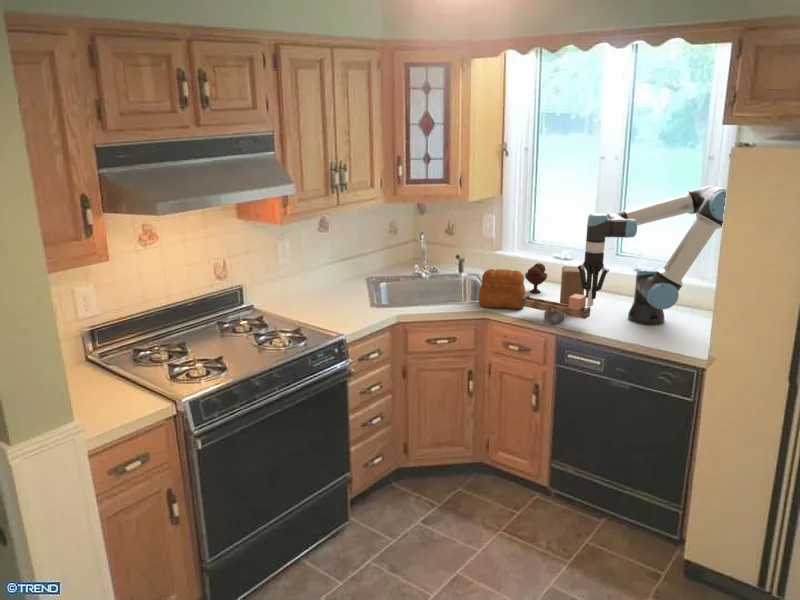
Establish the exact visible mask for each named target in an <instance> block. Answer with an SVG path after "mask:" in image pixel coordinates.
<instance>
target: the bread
mask: <svg viewBox="0 0 800 600" xmlns="http://www.w3.org/2000/svg"><path fill="white" fill-rule="evenodd" d="M524 277H525V275H524V274H523V273H522V272H521V271H520V270H516V269H515V270H511V269H502V268H501V269H500V268H499V269H492V268H490V269H487V270H486V271H484V272H483V274H482V277H481V285H480V289H479V293H478V305H479V306H481V307H484V308H495V309H503V308H504V309H510V310H512V309H513V310H520V309H523V308H524V306H522V297H524V296H526V287H525V284H524V281H525V278H524Z"/></svg>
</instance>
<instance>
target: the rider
mask: <svg viewBox="0 0 800 600" xmlns="http://www.w3.org/2000/svg"><path fill="white" fill-rule="evenodd" d="M586 301H587V298H586V294H585V295H579V294H574V295H572V296H570V297H569V308H570V309H575V310H582V309H583V308H586V306H587V302H586Z"/></svg>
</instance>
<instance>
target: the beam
mask: <svg viewBox="0 0 800 600" xmlns="http://www.w3.org/2000/svg"><path fill="white" fill-rule="evenodd" d="M522 306H524V307H525V308H528V309H529V308H530V309H535V310H540V311H544V313H543V314H544V316H543V323H544V324H549V325H553V326H558V325H560V324H562V323H563V322H565V317H566V316H568V317H573V318H579V319H583V320H586V319H587V318H590V316H591V307H592V306H591V307H589V306H587V307H584V308H583V309H582V310H575V309H570V308H569V305H568V304H562V303H560V302H556V301H551V300H547V299H541V298H535V297H531V296H530V295H529V294H525V296H524V297H522ZM524 307H523V308H524Z"/></svg>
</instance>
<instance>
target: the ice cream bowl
mask: <svg viewBox="0 0 800 600" xmlns="http://www.w3.org/2000/svg"><path fill="white" fill-rule="evenodd" d="M524 277H525V279H526V281H528V282H529V283H530V284H532V285H533V288H532V289H531V290H529V293H530V294H536V295H538V294H541V290H539V289H538V285H541V284H542V283H544V282H545V281H546V280H547V279H548V273H546V266H545V265H544V264H543V263H540V262H538V263H535V264H534V265H533V266H531V267H530V268H529V269H528V270H527V272H525V273H524Z"/></svg>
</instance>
